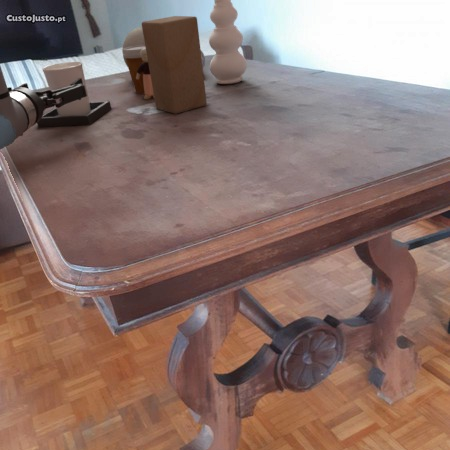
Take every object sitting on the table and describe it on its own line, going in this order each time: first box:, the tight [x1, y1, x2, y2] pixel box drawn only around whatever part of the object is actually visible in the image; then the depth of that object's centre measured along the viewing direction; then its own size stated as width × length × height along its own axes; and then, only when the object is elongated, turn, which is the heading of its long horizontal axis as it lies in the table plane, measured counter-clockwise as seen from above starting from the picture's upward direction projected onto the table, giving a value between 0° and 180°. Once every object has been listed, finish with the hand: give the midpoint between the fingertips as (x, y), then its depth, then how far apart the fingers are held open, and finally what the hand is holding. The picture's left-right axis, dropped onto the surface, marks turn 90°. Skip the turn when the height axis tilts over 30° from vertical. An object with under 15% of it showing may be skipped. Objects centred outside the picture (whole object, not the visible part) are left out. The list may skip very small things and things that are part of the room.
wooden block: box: [141, 15, 207, 115], centre depth 118 cm, size 10×10×20 cm
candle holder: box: [42, 61, 91, 116], centre depth 122 cm, size 10×10×12 cm
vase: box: [208, 0, 248, 85], centre depth 135 cm, size 11×11×25 cm
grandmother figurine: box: [136, 48, 155, 100], centre depth 133 cm, size 8×4×13 cm, turn 112°
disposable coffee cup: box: [122, 45, 146, 95], centre depth 140 cm, size 10×10×12 cm
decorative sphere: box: [122, 26, 145, 68], centre depth 157 cm, size 15×15×15 cm
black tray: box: [36, 100, 112, 128], centre depth 125 cm, size 14×14×2 cm
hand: (54, 86), depth 114 cm, fingers open, 13 cm apart
